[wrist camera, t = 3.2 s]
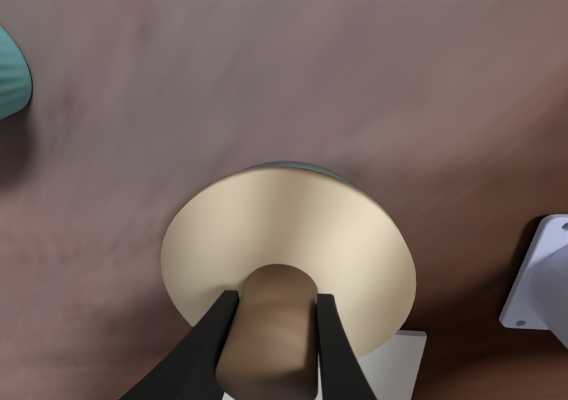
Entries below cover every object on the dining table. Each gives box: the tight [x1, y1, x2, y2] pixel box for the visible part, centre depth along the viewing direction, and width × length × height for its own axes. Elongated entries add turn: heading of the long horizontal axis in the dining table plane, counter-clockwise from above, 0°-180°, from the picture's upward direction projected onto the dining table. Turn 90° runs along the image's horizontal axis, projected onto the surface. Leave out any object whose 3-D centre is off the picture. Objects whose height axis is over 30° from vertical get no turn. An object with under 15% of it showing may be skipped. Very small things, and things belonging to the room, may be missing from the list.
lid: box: [161, 166, 416, 400], centre depth 11 cm, size 12×12×5 cm
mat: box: [222, 330, 427, 400], centre depth 22 cm, size 17×14×1 cm
